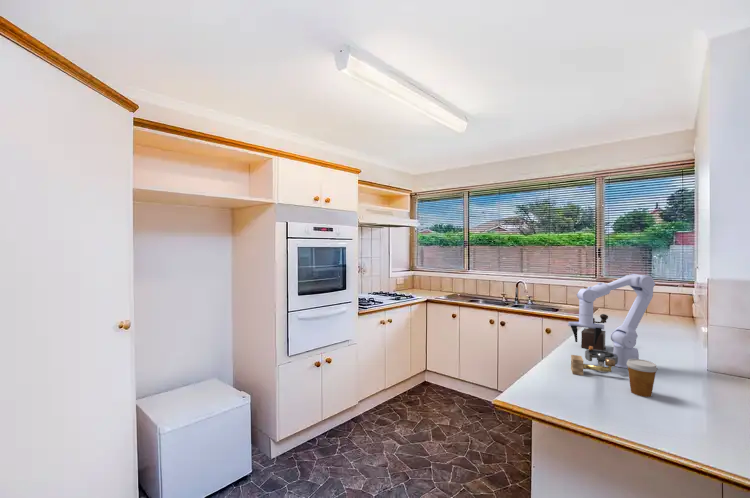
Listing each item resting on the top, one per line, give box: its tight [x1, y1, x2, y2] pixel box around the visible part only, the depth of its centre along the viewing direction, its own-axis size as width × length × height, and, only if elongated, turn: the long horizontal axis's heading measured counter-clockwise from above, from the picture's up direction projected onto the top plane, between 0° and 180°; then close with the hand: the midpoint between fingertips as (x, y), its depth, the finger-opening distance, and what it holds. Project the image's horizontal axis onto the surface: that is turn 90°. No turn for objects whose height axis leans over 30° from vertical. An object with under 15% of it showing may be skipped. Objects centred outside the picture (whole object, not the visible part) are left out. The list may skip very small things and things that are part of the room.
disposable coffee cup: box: [626, 359, 659, 398], centre depth 133 cm, size 10×10×12 cm
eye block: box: [570, 354, 584, 376], centre depth 155 cm, size 4×7×6 cm, turn 156°
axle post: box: [594, 360, 608, 374], centre depth 158 cm, size 6×6×4 cm
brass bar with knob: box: [583, 358, 615, 373], centre depth 152 cm, size 13×4×6 cm, turn 66°
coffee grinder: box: [580, 313, 609, 351], centre depth 193 cm, size 16×11×18 cm
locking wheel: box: [584, 346, 618, 365], centre depth 158 cm, size 10×12×5 cm
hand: (585, 342), depth 165 cm, fingers open, 7 cm apart
